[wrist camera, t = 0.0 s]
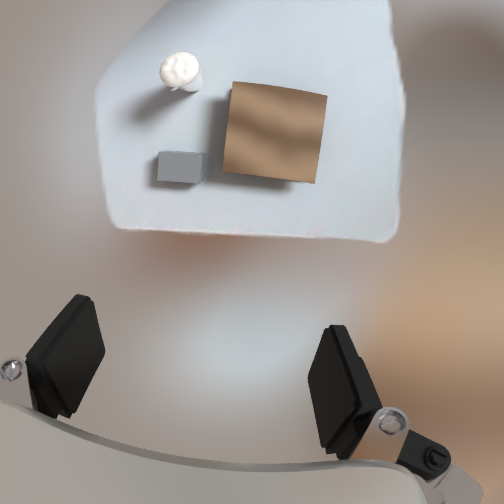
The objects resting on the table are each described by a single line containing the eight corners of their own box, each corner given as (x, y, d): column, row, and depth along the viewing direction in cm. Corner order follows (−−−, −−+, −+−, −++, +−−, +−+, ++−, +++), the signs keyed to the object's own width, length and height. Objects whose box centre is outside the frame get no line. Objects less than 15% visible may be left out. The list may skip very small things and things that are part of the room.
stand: (234, 87, 33) (232, 81, 29) (319, 99, 34) (327, 95, 30) (224, 168, 37) (222, 171, 34) (308, 179, 38) (314, 183, 35)
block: (165, 150, 36) (158, 151, 34) (205, 153, 37) (201, 154, 34) (163, 177, 38) (156, 180, 35) (202, 180, 38) (199, 183, 36)
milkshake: (175, 102, 33) (151, 92, 24) (178, 68, 31) (156, 49, 22) (206, 102, 34) (192, 90, 24) (209, 67, 32) (197, 46, 22)
